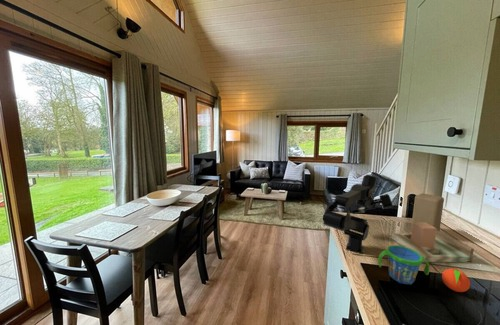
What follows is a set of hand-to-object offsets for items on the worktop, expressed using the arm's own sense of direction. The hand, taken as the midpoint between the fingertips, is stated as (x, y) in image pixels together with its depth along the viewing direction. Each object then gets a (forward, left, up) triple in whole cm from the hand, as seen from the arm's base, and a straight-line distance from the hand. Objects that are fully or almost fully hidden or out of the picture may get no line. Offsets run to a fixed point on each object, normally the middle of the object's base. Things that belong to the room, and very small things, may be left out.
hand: (373, 209), depth 111 cm
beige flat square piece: (-4, -23, -13) cm, 27 cm away
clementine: (-32, -26, -13) cm, 44 cm away
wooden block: (+18, -24, -13) cm, 33 cm away
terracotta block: (-5, -20, -10) cm, 24 cm away
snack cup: (-35, -11, -13) cm, 39 cm away
